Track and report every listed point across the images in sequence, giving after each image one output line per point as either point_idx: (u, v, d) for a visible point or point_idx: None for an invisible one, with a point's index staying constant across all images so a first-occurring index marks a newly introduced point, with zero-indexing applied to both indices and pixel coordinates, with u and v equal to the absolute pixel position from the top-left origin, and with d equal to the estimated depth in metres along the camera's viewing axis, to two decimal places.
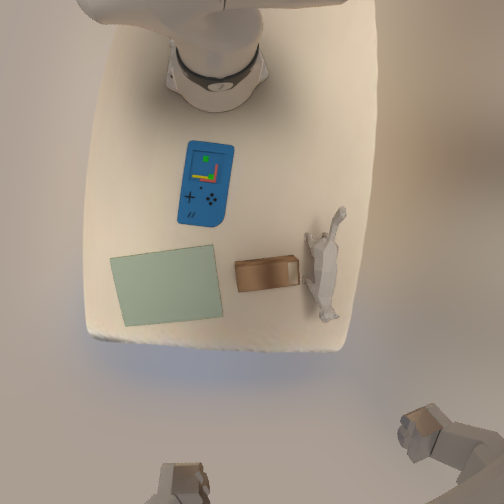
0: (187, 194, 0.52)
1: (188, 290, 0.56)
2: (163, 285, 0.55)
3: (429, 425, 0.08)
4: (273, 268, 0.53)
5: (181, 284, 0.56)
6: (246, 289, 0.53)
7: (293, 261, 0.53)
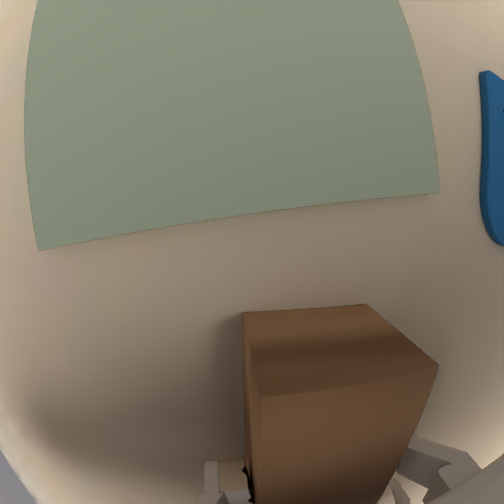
0: None
1: (194, 39, 0.07)
2: None
3: None
4: None
5: (233, 8, 0.07)
6: (275, 439, 0.06)
7: None
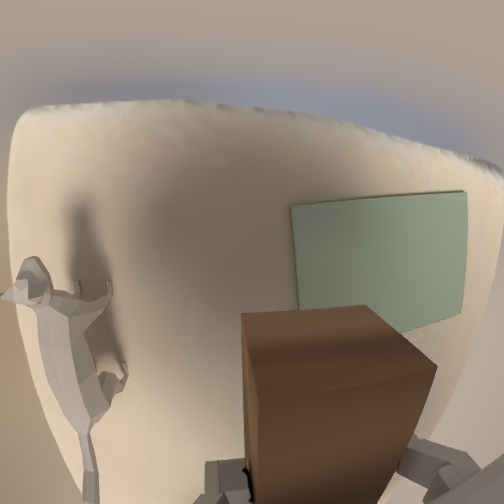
0: None
1: (359, 268, 0.26)
2: (400, 276, 0.27)
3: None
4: None
5: (369, 280, 0.26)
6: (273, 441, 0.06)
7: None
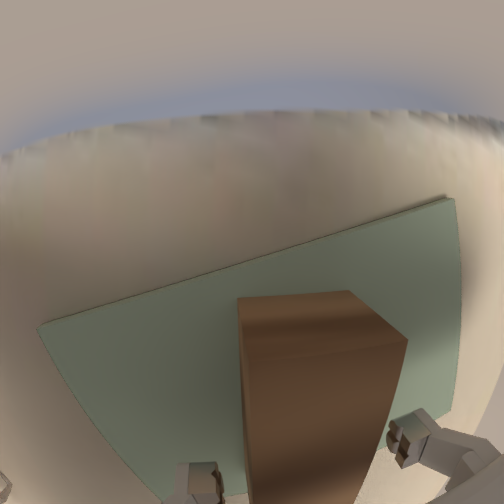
0: None
1: (196, 414, 0.12)
2: None
3: (416, 430, 0.08)
4: (344, 480, 0.09)
5: (228, 427, 0.13)
6: (263, 403, 0.07)
7: None
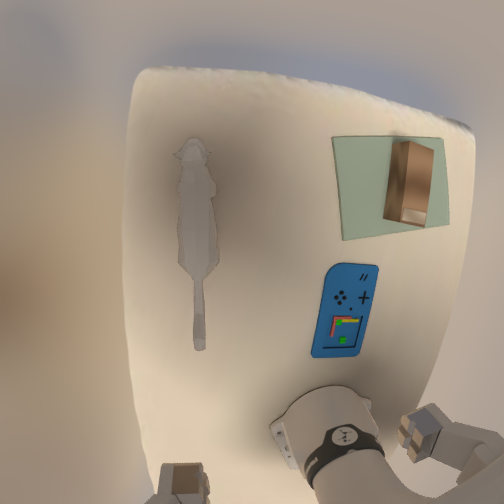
0: (365, 300, 0.43)
1: (375, 179, 0.39)
2: None
3: (429, 425, 0.08)
4: (424, 193, 0.35)
5: (383, 188, 0.39)
6: (410, 151, 0.34)
7: (424, 220, 0.36)
